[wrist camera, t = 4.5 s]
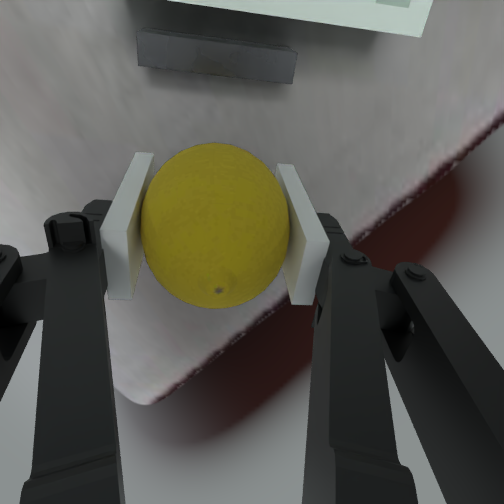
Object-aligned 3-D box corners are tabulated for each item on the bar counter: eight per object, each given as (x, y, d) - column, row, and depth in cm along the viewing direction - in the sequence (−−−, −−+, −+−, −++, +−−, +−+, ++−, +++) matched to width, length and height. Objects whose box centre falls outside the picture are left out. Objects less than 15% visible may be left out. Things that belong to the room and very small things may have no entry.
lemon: (201, 246, 20) (196, 374, 13) (129, 161, 17) (76, 272, 10) (294, 193, 18) (339, 306, 12) (233, 91, 15) (249, 167, 9)
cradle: (289, 47, 21) (297, 52, 19) (261, 216, 27) (266, 234, 25) (144, 27, 20) (136, 31, 18) (149, 209, 26) (144, 227, 24)
